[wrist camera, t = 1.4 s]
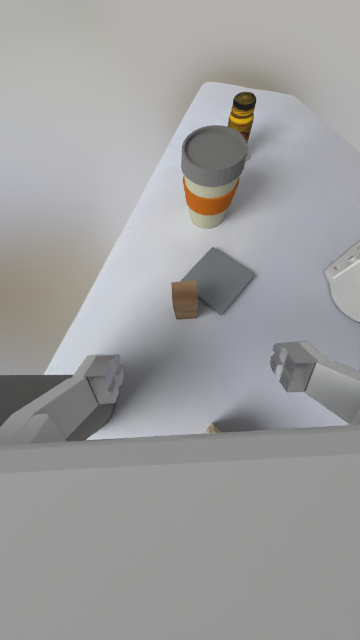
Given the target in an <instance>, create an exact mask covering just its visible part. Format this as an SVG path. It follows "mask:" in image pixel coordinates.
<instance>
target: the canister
mask: <svg viewBox="0 0 360 640" xmlns="http://www.w3.org/2000/svg"><path fill="white" fill-rule="evenodd" d="M72 377H73V375H0V427H1V426H2V425H3V424H4V423H5V421H6V420H7V419H8V418H9V417H10V416H11V415H12V414H13V413H15V412H16V411H18V410H20V409H21V408H23V407H24V406H26V405H27V404H29V403H31V402H32V401H34V400H35V399H37V398H38V397H40V396H42V395H43V394H45V393H46V392H48V391H49V390H51V389H52V388H54V387H56V386H57V385H59V384H60V383H62V382H63V381H65V380H67V379H68V378H72ZM113 406H114V403H107V404H98V406H97V407H96V408H95V409H94V410H93V411H92V412H91V413H90V414H89V415H88V416H87V417H86V419H85V420H84V421H83V422H82V423H81V424H80V425H79V426H78V427H77V428H76V429H75V430H74V431H73V432H72V433H71V434H70V435H69V436H68V437H67V438H66V439H65V440H66V441H84V440H86V439H87V438H88V437H90V436H91V435H92V434H94V433H95V432H97V431H98V430H99V429H101V428H102V427H103V425H104V424H105V423H106V422H107V421H108V419H109V417H110V416H111V414H112V411H113Z"/></svg>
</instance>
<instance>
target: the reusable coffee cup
mask: <svg viewBox="0 0 360 640" xmlns="http://www.w3.org/2000/svg"><path fill="white" fill-rule="evenodd" d="M246 152H247V142H246V140H245V138H244V137H243V135H242V134H240V133H239V132H238V131H236V130H235V129H232V128H230V127H226V126H218V125H214V126H206V127H202V128H199V129H197V130H195V131H193V132H192V133H191V134H189V135H188V136H187V138H186V139H185V141H184V143H183V146H182V163H181V167H182V171H183V173H184V177H183V184H184V190H185V196H186V202H187V204H188V206H189V212H190V218H191V221H192V222H193V223H194V224H195V225H196V226H198V227H200V228H204V229H209V228H214V227H216V226H218V225H219V224H220V223H221V222H222V220H223V218H224V215H225V212H226V210H227V208H228V207H229V205H230V204H231V201H232V199H233V196H234V194H235V191H236V188H237V186H238V183H239V176H240V174H241V173H242V171H243V169H244V163H245V158H246Z"/></svg>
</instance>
